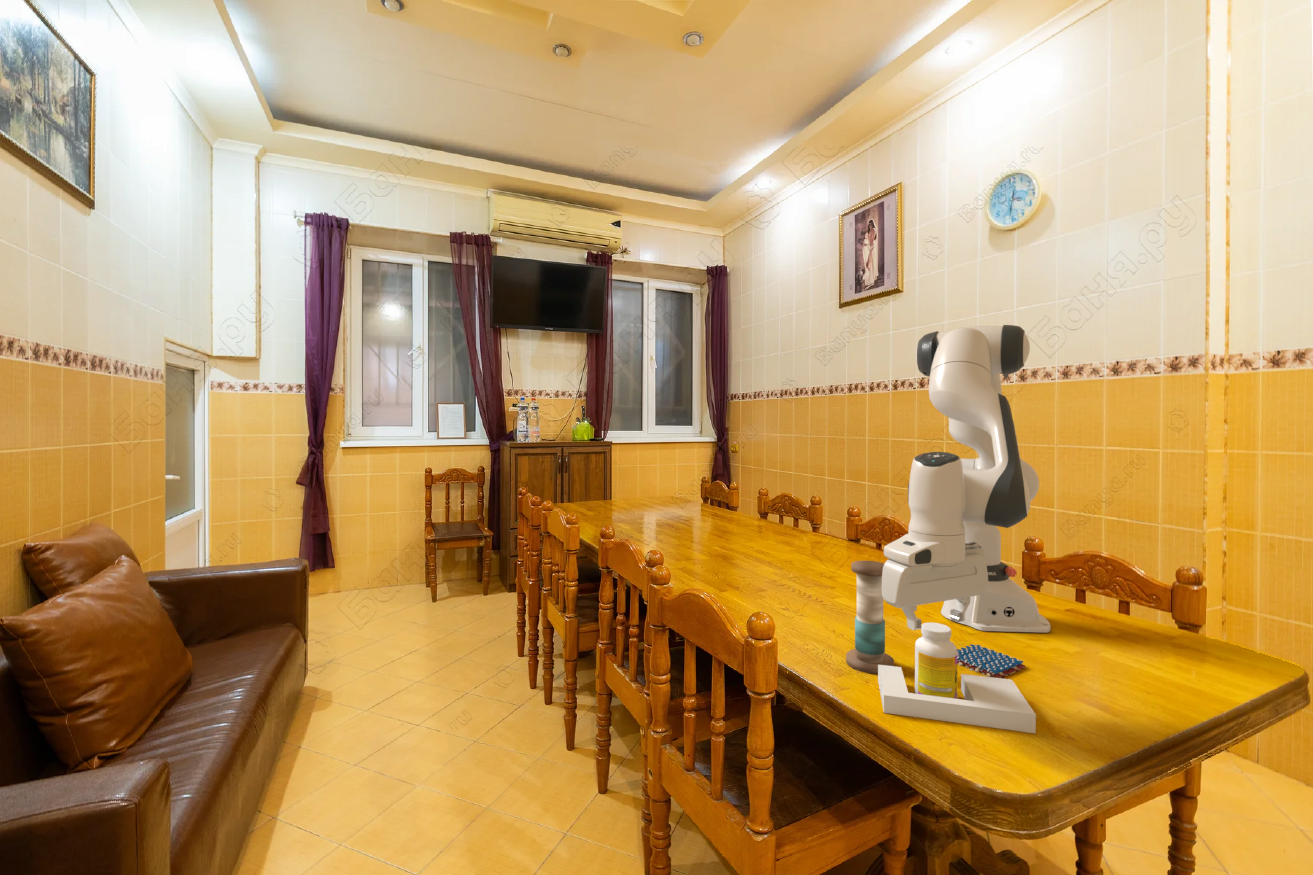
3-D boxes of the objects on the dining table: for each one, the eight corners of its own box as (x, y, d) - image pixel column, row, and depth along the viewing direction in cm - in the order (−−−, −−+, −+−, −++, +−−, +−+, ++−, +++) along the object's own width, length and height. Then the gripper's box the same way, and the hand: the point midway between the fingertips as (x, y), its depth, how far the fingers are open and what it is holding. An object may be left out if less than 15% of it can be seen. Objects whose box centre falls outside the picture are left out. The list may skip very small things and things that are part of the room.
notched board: (1011, 696, 98) (1011, 679, 98) (1035, 733, 87) (1035, 714, 86) (878, 680, 105) (878, 664, 104) (883, 712, 93) (883, 695, 93)
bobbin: (891, 656, 114) (891, 560, 114) (896, 676, 106) (896, 572, 105) (845, 651, 117) (845, 558, 116) (846, 670, 109) (846, 569, 108)
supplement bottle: (962, 711, 93) (963, 635, 93) (920, 707, 95) (920, 633, 94) (949, 691, 100) (950, 621, 99) (910, 688, 101) (910, 619, 101)
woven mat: (997, 683, 104) (997, 673, 104) (944, 662, 113) (944, 652, 113) (1028, 671, 109) (1028, 660, 109) (974, 651, 118) (974, 641, 118)
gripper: (968, 536, 102) (967, 610, 103) (875, 548, 96) (875, 626, 97) (998, 544, 96) (997, 622, 97) (901, 557, 90) (902, 640, 91)
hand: (936, 624), depth 97 cm, fingers open, 8 cm apart
